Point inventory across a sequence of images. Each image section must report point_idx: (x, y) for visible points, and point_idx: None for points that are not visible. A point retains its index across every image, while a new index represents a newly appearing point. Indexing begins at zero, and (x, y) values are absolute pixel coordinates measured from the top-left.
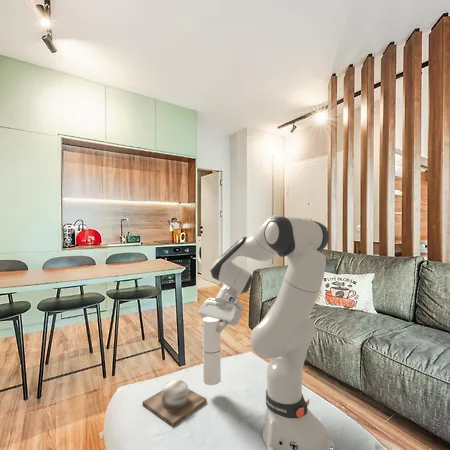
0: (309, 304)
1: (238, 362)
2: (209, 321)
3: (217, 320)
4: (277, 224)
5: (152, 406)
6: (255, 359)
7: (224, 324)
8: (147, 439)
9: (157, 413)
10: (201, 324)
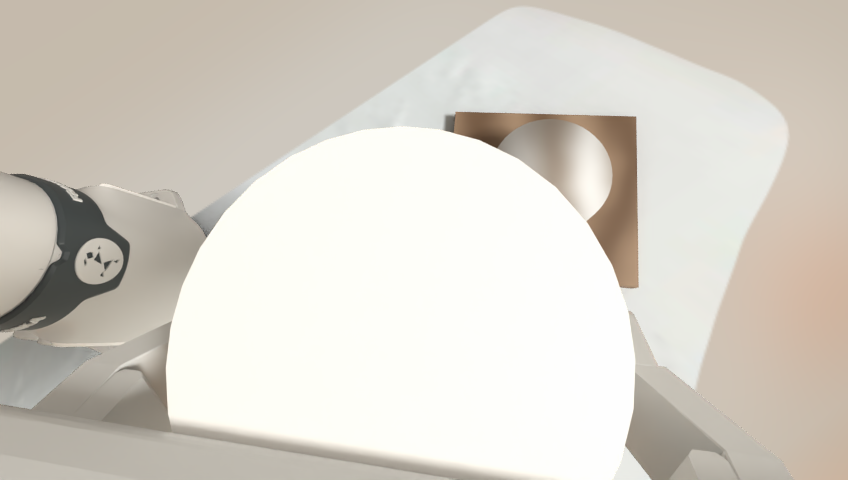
0: None
1: None
2: (318, 168)
3: (186, 327)
4: None
5: (579, 122)
6: None
7: (100, 368)
8: (479, 48)
9: (537, 116)
10: (638, 325)
